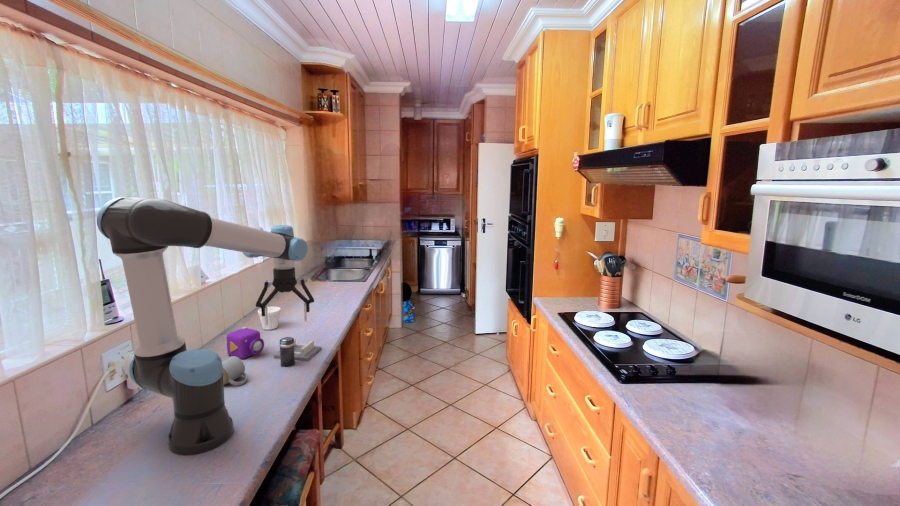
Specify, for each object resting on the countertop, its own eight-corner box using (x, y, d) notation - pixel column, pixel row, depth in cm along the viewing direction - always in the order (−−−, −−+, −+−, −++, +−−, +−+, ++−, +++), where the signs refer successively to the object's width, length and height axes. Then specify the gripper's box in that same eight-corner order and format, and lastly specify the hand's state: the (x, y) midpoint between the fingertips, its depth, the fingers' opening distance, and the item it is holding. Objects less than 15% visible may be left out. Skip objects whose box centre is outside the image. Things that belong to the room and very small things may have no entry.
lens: (290, 367, 153) (289, 342, 151) (277, 366, 154) (276, 340, 152) (297, 362, 158) (296, 336, 156) (285, 360, 159) (284, 335, 157)
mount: (307, 361, 159) (307, 351, 158) (274, 358, 161) (273, 348, 160) (321, 349, 171) (320, 339, 170) (289, 346, 173) (289, 337, 172)
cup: (281, 330, 190) (280, 311, 189) (257, 332, 186) (257, 313, 185) (281, 323, 199) (281, 305, 198) (259, 325, 196) (258, 307, 194)
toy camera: (253, 362, 157) (252, 337, 155) (223, 358, 160) (221, 333, 158) (271, 351, 167) (270, 328, 166) (242, 347, 170) (240, 324, 168)
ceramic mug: (209, 384, 139) (208, 363, 137) (228, 374, 147) (227, 354, 145) (235, 390, 136) (234, 368, 135) (253, 379, 144) (252, 358, 143)
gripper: (245, 271, 141) (249, 329, 145) (320, 267, 151) (321, 322, 155) (247, 267, 148) (250, 322, 152) (318, 263, 158) (320, 315, 161)
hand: (286, 322), depth 153 cm, fingers open, 13 cm apart
